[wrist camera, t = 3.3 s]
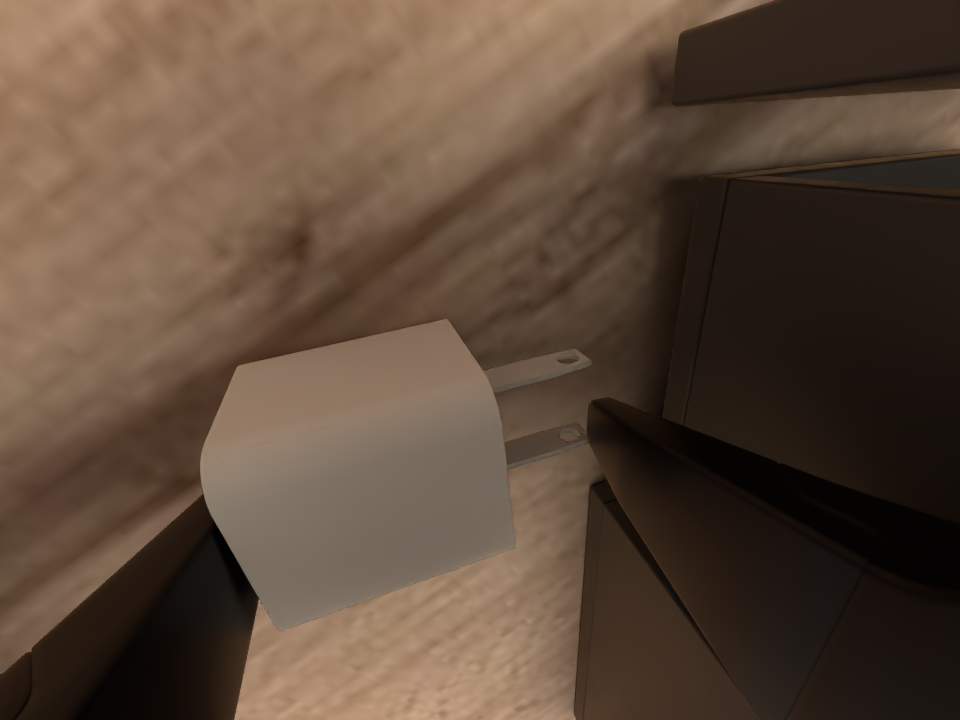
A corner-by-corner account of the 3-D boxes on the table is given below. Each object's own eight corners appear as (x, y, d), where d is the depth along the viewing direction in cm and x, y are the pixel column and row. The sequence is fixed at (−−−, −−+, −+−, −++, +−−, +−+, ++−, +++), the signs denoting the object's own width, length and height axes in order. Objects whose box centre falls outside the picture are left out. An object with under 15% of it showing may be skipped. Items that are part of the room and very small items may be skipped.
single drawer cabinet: (589, 485, 14) (947, 974, 6) (882, 405, 17) (1411, 658, 8) (573, 713, 21) (727, 1090, 12) (784, 629, 23) (1025, 893, 15)
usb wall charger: (242, 353, 9) (189, 478, 6) (543, 287, 11) (646, 354, 7) (301, 491, 11) (287, 648, 8) (549, 419, 12) (632, 522, 9)
